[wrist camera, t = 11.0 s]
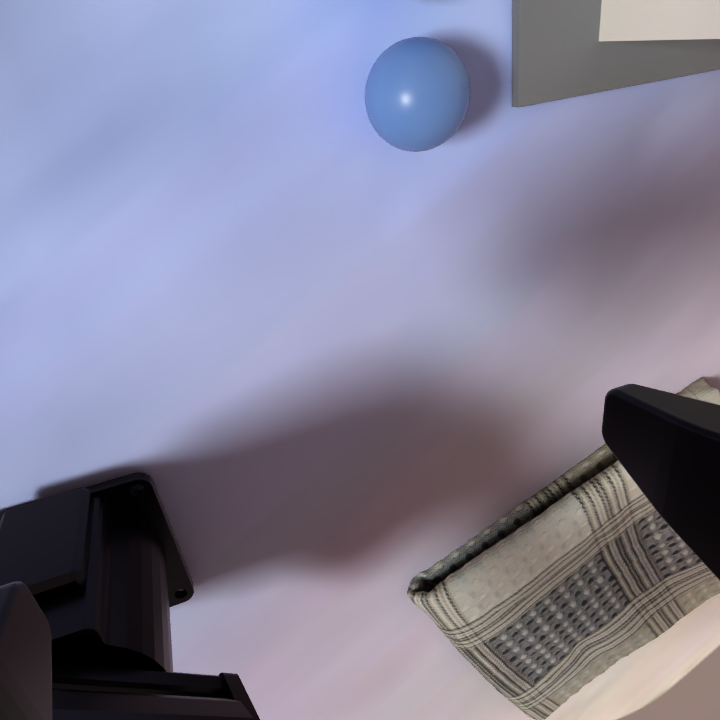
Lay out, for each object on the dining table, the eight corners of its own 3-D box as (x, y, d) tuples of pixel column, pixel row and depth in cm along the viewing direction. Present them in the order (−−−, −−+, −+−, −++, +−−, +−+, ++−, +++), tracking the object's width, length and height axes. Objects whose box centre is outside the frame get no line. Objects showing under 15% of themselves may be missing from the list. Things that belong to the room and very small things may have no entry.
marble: (444, 135, 19) (490, 148, 17) (358, 152, 19) (392, 168, 16) (439, 31, 18) (488, 28, 15) (345, 45, 17) (380, 44, 15)
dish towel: (518, 706, 39) (547, 755, 36) (393, 573, 29) (420, 627, 26) (748, 541, 39) (793, 577, 36) (700, 353, 29) (757, 384, 26)
